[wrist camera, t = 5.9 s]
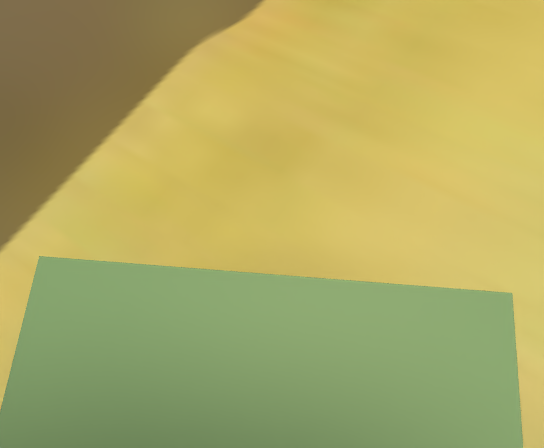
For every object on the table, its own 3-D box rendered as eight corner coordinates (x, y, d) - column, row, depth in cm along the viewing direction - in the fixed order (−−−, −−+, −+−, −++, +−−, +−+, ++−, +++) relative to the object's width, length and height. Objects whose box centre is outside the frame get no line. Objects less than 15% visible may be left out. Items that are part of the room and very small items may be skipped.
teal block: (357, 329, 16) (512, 292, 4) (353, 472, 15) (567, 1064, 3) (233, 318, 16) (39, 256, 4) (217, 455, 15) (-120, 888, 3)
